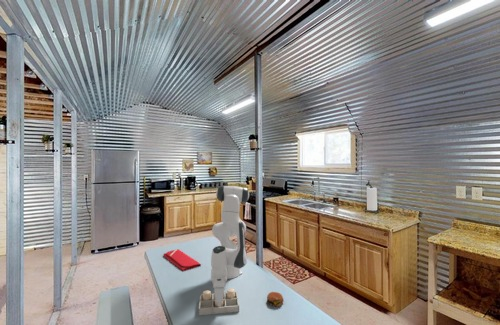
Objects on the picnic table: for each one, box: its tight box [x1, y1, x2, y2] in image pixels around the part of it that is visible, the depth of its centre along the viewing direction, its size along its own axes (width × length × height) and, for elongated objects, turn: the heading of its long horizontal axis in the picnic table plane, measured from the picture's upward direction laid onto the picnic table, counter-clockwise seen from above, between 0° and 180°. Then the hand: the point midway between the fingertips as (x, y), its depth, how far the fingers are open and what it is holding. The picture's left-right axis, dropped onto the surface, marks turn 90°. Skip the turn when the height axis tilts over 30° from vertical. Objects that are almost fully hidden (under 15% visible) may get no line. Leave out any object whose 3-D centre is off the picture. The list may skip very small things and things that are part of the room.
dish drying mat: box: [162, 249, 202, 272], centre depth 201 cm, size 16×41×4 cm, turn 41°
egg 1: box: [202, 290, 212, 301], centre depth 139 cm, size 5×5×6 cm
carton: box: [198, 291, 240, 316], centre depth 136 cm, size 15×22×4 cm
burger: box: [266, 291, 284, 307], centre depth 140 cm, size 10×9×5 cm
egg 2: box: [226, 288, 236, 299], centre depth 140 cm, size 5×5×6 cm
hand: (219, 301), depth 133 cm, fingers open, 6 cm apart
